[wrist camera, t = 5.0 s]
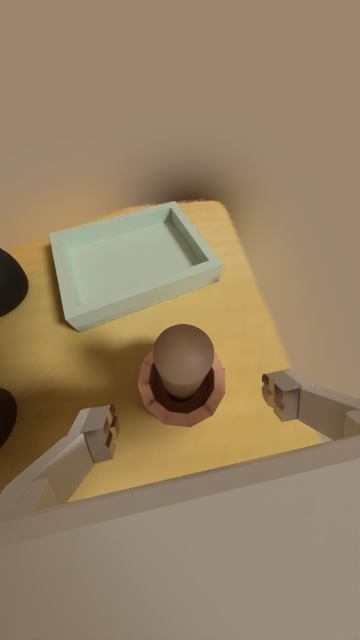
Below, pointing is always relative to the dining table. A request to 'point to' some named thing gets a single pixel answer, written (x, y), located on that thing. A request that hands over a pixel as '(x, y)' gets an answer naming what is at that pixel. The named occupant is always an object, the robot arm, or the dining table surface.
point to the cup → (181, 412)
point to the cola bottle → (11, 283)
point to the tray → (129, 264)
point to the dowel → (183, 360)
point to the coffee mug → (6, 414)
